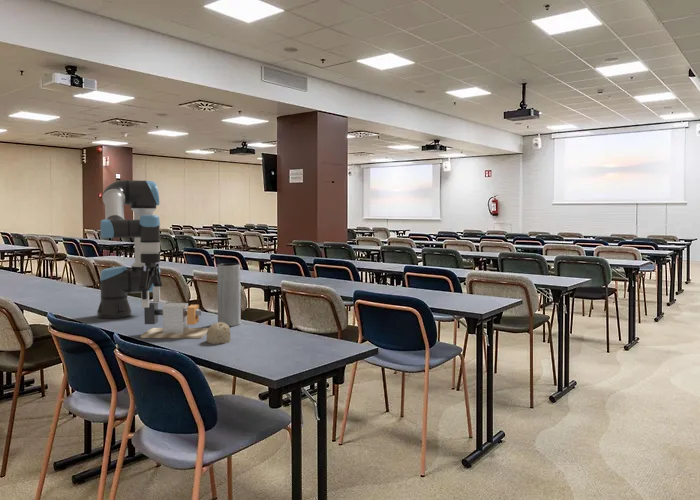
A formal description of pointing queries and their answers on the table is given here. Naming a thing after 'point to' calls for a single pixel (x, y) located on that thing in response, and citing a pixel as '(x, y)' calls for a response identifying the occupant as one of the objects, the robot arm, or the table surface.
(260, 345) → the table surface
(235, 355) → the table surface
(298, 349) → the table surface
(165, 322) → the grey upright block
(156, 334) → the board
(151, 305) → the shaft
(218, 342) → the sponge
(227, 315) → the vase
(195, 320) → the block
